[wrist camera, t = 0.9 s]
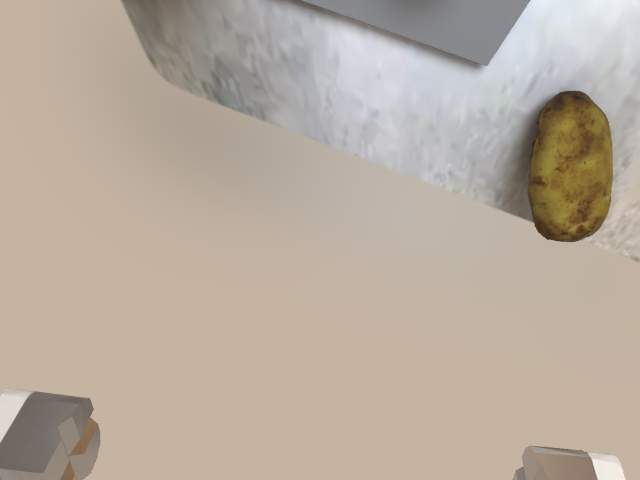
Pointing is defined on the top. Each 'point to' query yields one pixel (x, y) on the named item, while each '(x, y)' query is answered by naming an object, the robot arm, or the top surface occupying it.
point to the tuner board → (439, 22)
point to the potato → (571, 168)
